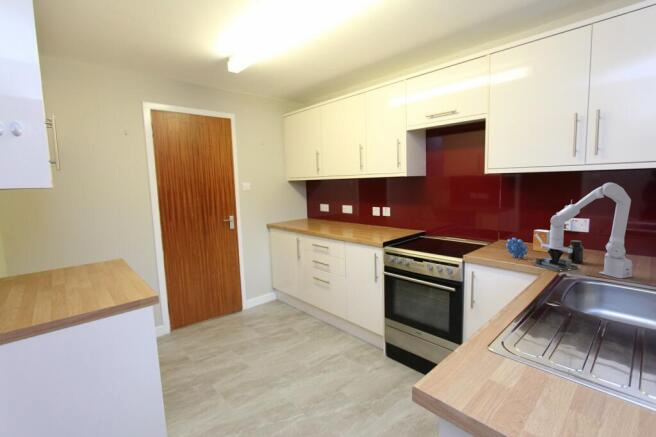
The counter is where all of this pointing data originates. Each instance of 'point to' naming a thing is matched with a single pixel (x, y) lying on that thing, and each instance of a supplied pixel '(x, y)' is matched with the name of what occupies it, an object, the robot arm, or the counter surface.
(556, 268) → the heatsink base
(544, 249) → the small box
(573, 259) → the supplement bottle
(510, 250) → the grapes
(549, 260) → the blue-grey rectangular block
